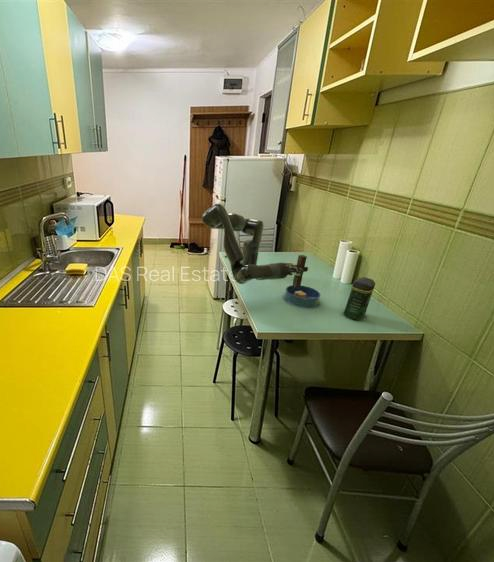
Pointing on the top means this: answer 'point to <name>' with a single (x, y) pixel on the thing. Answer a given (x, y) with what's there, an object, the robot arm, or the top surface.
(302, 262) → the stick
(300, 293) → the block
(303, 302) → the bowl
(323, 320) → the top surface
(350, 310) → the coffee jar
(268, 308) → the top surface
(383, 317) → the top surface
